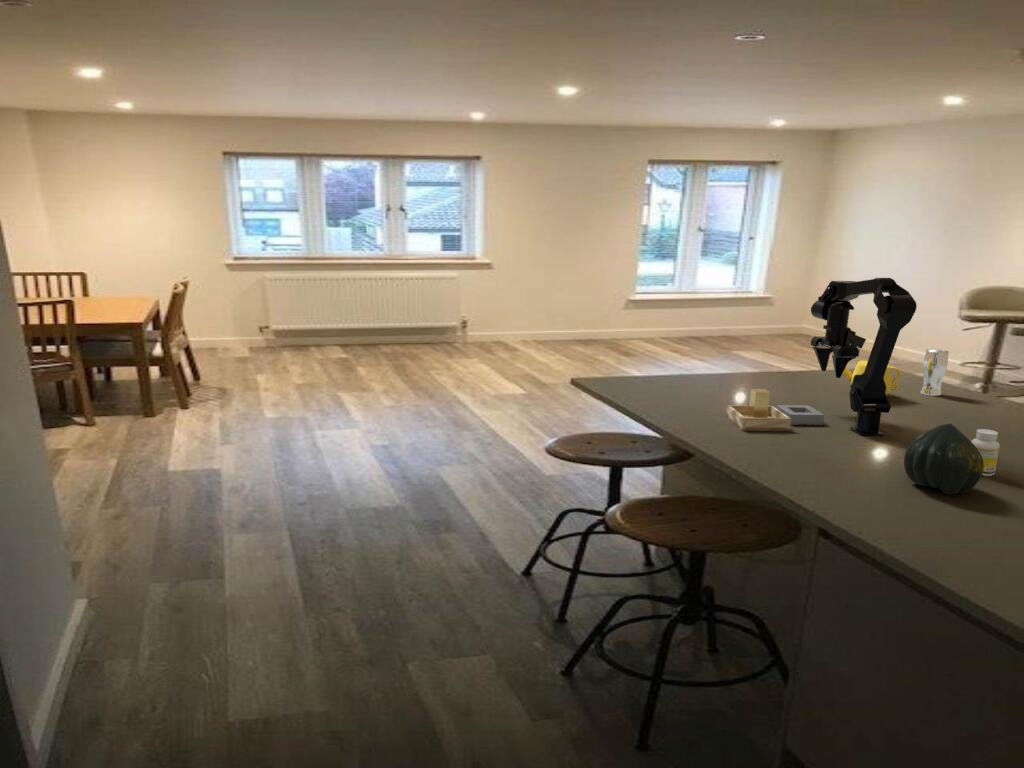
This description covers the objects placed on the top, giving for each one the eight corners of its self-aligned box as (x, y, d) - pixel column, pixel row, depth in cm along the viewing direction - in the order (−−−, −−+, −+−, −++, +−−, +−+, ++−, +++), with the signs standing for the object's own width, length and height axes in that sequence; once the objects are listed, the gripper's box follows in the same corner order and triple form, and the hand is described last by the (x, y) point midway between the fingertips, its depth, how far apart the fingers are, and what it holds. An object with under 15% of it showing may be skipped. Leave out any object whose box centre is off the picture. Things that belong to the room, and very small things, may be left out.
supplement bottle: (967, 466, 172) (975, 426, 169) (995, 472, 168) (1003, 431, 166) (964, 472, 167) (971, 431, 165) (992, 478, 164) (1000, 436, 162)
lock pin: (766, 422, 202) (770, 392, 200) (752, 422, 202) (756, 392, 200) (761, 418, 206) (764, 388, 204) (747, 418, 206) (750, 388, 204)
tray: (790, 430, 198) (791, 418, 197) (742, 430, 197) (743, 418, 196) (770, 416, 211) (772, 405, 210) (725, 416, 210) (726, 405, 210)
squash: (933, 479, 148) (979, 424, 148) (879, 458, 162) (921, 408, 162) (968, 517, 152) (1011, 464, 153) (912, 493, 166) (952, 444, 167)
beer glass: (914, 392, 244) (921, 349, 240) (927, 390, 247) (934, 348, 243) (933, 397, 238) (940, 353, 234) (946, 395, 240) (954, 352, 237)
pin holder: (823, 424, 204) (824, 414, 203) (789, 424, 204) (790, 414, 203) (807, 415, 214) (808, 405, 213) (775, 414, 213) (776, 405, 212)
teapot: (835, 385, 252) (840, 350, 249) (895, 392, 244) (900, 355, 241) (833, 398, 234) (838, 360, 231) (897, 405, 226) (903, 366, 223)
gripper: (880, 328, 201) (873, 381, 205) (848, 318, 220) (841, 368, 223) (842, 328, 201) (835, 381, 205) (812, 318, 219) (807, 367, 223)
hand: (830, 374), depth 214 cm, fingers open, 9 cm apart
